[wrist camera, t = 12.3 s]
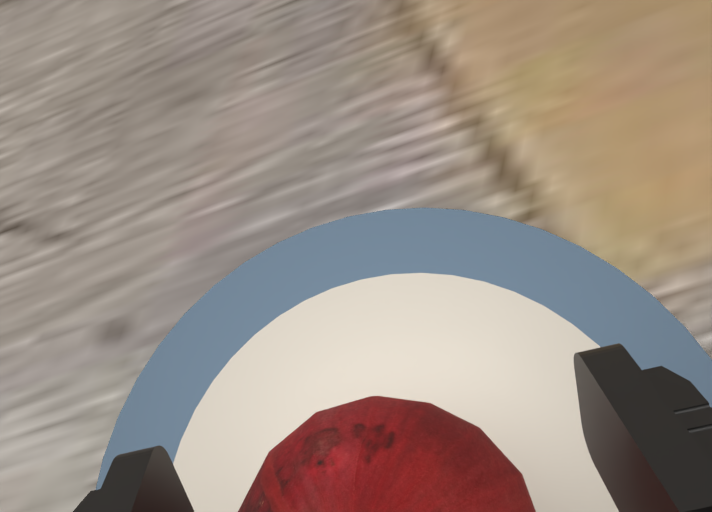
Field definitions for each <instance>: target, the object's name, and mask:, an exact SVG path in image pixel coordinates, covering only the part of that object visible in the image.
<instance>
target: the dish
mask: <svg viewBox="0 0 712 512" xmlns="http://www.w3.org/2000/svg"><path fill="white" fill-rule="evenodd" d="M618 343H620V344H621V345H623V346H624V347H625V349H626V350H627V351H628V353H629V354H630V355H631V357H632V358H633V359H634V360H635V362H636V363H637V364H638V366H639V367H640V368H641V370H644V369H649V368H653V367H658V366H663V367H665V368H667V369H669V370H671V371H672V372H674V373H676V374H678V375H680V376H682V377H683V378H685V379H687V380H689V381H691V383H692V384H693V385H694V386H695V387H696V388H697V390H698V391H699V392H700V393H701V394H702V395H703V397H704V398H705V399H706V400H707V401H708V402H709V405H710V407H712V360H711V358H710V357H709V356H708V355H707V353H706V352H705V351H704V350H703V348H702V347H701V346H700V345H699V344H698V342H697V341H696V340H695V339H694V337H693V336H692V335H691V334H690V333H689V331H688V330H687V329H686V328H685V327H684V326H683V325H682V324H681V323H680V322H679V321H678V320H677V319H676V318H675V317H674V316H673V315H672V314H671V313H670V312H669V311H668V310H667V309H666V308H665V307H664V306H663V305H662V304H661V303H660V302H659V301H658V300H657V299H656V298H655V297H653V296H652V295H651V294H650V293H649V292H647V291H646V290H645V289H643V288H642V287H641V286H639V285H638V284H637V283H636V282H634V281H633V280H632V279H630V278H629V277H628V276H626V275H625V274H624V273H622V272H621V271H620V270H619V269H617V268H616V267H614V266H612V265H611V264H609V263H607V262H606V261H604V260H602V259H601V258H599V257H597V256H595V255H594V254H592V253H590V252H589V251H587V250H585V249H584V248H582V247H580V246H578V245H576V244H574V243H571V242H569V241H567V240H565V239H562V238H560V237H558V236H556V235H553V234H551V233H549V232H547V231H544V230H542V229H539V228H536V227H533V226H529V225H526V224H523V223H520V222H516V221H513V220H510V219H507V218H503V217H499V216H493V215H488V214H482V213H477V212H471V211H466V210H454V209H437V208H411V209H394V210H383V211H377V212H372V213H366V214H361V215H355V216H350V217H346V218H343V219H339V220H336V221H333V222H329V223H326V224H323V225H320V226H316V227H313V228H311V229H308V230H306V231H304V232H301V233H299V234H297V235H295V236H292V237H290V238H288V239H286V240H283V241H281V242H279V243H277V244H275V245H273V246H272V247H270V248H268V249H267V250H265V251H263V252H261V253H260V254H258V255H256V256H255V257H253V258H251V259H250V260H248V261H246V262H245V263H243V264H242V265H241V266H239V267H238V268H237V269H235V270H234V271H233V272H231V273H230V274H229V275H227V276H226V277H225V278H223V279H222V280H221V281H220V282H218V283H217V284H216V285H214V286H213V287H212V288H211V289H210V290H209V291H208V292H207V293H206V294H205V295H204V296H203V297H202V298H201V299H200V300H199V301H197V302H196V303H195V304H194V305H193V306H192V307H191V308H190V309H189V310H188V311H187V312H186V313H185V314H184V315H183V317H182V318H181V319H180V320H179V321H178V323H177V324H176V325H175V326H174V327H173V329H172V330H171V331H170V332H169V334H168V335H167V336H166V337H165V338H164V340H163V341H162V342H161V343H160V345H159V346H158V348H157V349H156V351H155V352H154V354H153V355H152V357H151V358H150V360H149V361H148V363H147V365H146V366H145V368H144V369H143V371H142V372H141V374H140V375H139V377H138V378H137V380H136V382H135V384H134V386H133V388H132V390H131V392H130V394H129V396H128V398H127V400H126V402H125V404H124V406H123V408H122V410H121V412H120V414H119V416H118V419H117V422H116V424H115V427H114V430H113V433H112V435H111V438H110V441H109V444H108V446H107V449H106V452H105V455H104V457H103V461H102V465H101V470H100V474H99V478H98V482H97V486H96V490H98V489H101V487H102V484H103V482H104V480H105V477H106V475H107V473H108V470H109V468H110V466H111V463H112V461H113V459H114V458H115V457H116V456H117V455H119V454H123V453H128V452H132V451H137V450H141V449H146V448H150V447H155V446H162V447H164V448H165V450H166V451H167V452H168V454H169V456H170V459H171V461H172V463H173V465H174V467H175V470H176V472H177V474H178V476H179V478H180V481H181V483H182V485H183V487H184V489H185V492H186V494H187V496H188V498H189V501H190V503H191V505H192V507H193V510H194V512H238V510H239V509H240V507H241V505H242V503H243V501H244V499H245V497H246V495H247V493H248V491H249V489H250V487H251V485H252V483H253V481H254V480H255V478H256V476H257V474H258V472H259V470H260V468H261V466H262V464H263V462H264V460H265V458H266V456H267V454H268V452H269V451H270V450H272V449H273V448H274V447H275V446H276V445H278V444H279V443H280V442H281V441H282V440H284V439H285V438H286V437H287V436H288V435H289V434H291V433H292V432H293V431H294V430H295V429H297V428H298V427H299V426H300V425H301V424H303V423H304V422H305V421H306V420H307V419H309V418H310V417H311V416H312V415H313V414H315V413H316V412H318V411H322V410H325V409H329V408H332V407H335V406H339V405H342V404H346V403H349V402H353V401H356V400H359V399H363V398H366V397H370V396H384V397H391V398H398V399H406V400H413V401H420V402H428V403H431V404H433V405H435V406H437V407H439V408H441V409H443V410H445V411H447V412H449V413H451V414H453V415H456V416H458V417H460V418H462V419H464V420H466V421H468V422H470V423H472V424H474V425H476V426H478V427H480V428H481V430H482V431H483V432H484V433H485V434H486V435H487V436H488V437H489V438H490V439H491V440H492V442H493V443H494V444H495V445H496V446H497V447H498V448H499V449H500V450H501V451H502V452H503V454H504V455H505V456H506V457H507V458H508V459H509V460H510V461H511V462H512V463H513V464H514V466H515V467H516V468H517V469H518V470H519V471H520V472H521V473H522V475H523V478H524V480H525V483H526V486H527V489H528V491H529V494H530V497H531V500H532V502H533V505H534V508H535V511H536V512H619V511H618V509H617V507H616V505H615V503H614V501H613V499H612V497H611V495H610V493H609V492H608V490H607V488H606V486H605V484H604V482H603V480H602V478H601V476H600V475H599V473H598V471H597V469H596V467H595V465H594V463H593V461H592V459H591V456H590V454H589V451H588V448H587V445H586V441H585V438H584V434H583V429H582V423H581V416H580V408H579V400H578V393H577V385H576V377H575V370H574V354H575V353H578V352H582V351H586V350H591V349H595V348H600V347H604V346H609V345H613V344H618Z"/></svg>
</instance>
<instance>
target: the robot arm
mask: <svg viewBox="0 0 712 512" xmlns="http://www.w3.org/2000/svg"><path fill="white" fill-rule="evenodd" d="M574 370H575V377H576V385H577V393H578V400H579V408H580V416H581V423H582V429H583V434H584V438H585V441H586V445H587V448H588V451H589V454H590V456H591V459H592V461H593V463H594V465H595V467H596V469H597V471H598V473H599V475H600V476H601V478H602V480H603V482H604V484H605V486H606V488H607V490H608V492H609V493H610V495H611V497H612V499H613V501H614V503H615V505H616V507H617V509H618V511H619V512H712V407H710V405H709V402H708V401H707V400H706V399H705V398H704V397H703V395H702V394H701V393H700V392H699V391H698V390H697V388H696V387H695V386H694V385H693V384H692V383H691V381H689V380H687V379H685V378H683V377H682V376H680V375H678V374H676V373H674V372H672V371H671V370H669V369H667V368H665V367H663V366H658V367H653V368H649V369H644V370H641V368H640V367H639V366H638V364H637V363H636V362H635V360H634V359H633V358H632V357H631V355H630V354H629V353H628V351H627V350H626V349H625V347H624V346H623V345H621V344H620V343H618V344H613V345H609V346H604V347H600V348H595V349H591V350H586V351H582V352H578V353H575V354H574ZM73 512H194V510H193V507H192V505H191V503H190V501H189V498H188V496H187V494H186V492H185V489H184V487H183V485H182V483H181V481H180V478H179V476H178V474H177V472H176V470H175V467H174V465H173V463H172V461H171V459H170V456H169V454H168V452H167V451H166V450H165V448H164V447H162V446H155V447H150V448H146V449H141V450H137V451H132V452H128V453H123V454H119V455H117V456H116V457H115V458H114V459H113V461H112V463H111V466H110V468H109V470H108V473H107V475H106V477H105V480H104V482H103V484H102V487H101V489H98V490H94V491H90V493H89V494H88V495H87V496H86V497H85V498H84V499H83V501H82V502H81V503H80V504H79V505H78V506H77V508H76V509H75V510H74V511H73Z"/></svg>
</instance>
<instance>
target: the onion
mask: <svg viewBox="0 0 712 512" xmlns="http://www.w3.org/2000/svg"><path fill="white" fill-rule="evenodd" d="M238 512H536V511H535V508H534V505H533V502H532V500H531V497H530V494H529V491H528V489H527V486H526V483H525V480H524V478H523V475H522V473H521V472H520V471H519V470H518V469H517V468H516V467H515V466H514V464H513V463H512V462H511V461H510V460H509V459H508V458H507V457H506V456H505V455H504V454H503V452H502V451H501V450H500V449H499V448H498V447H497V446H496V445H495V444H494V443H493V442H492V440H491V439H490V438H489V437H488V436H487V435H486V434H485V433H484V432H483V431H482V430H481V428H480V427H478V426H476V425H474V424H472V423H470V422H468V421H466V420H464V419H462V418H460V417H458V416H456V415H453V414H451V413H449V412H447V411H445V410H443V409H441V408H439V407H437V406H435V405H433V404H431V403H428V402H420V401H413V400H406V399H398V398H391V397H384V396H370V397H366V398H363V399H359V400H356V401H353V402H349V403H346V404H342V405H339V406H335V407H332V408H329V409H325V410H322V411H318V412H316V413H315V414H313V415H312V416H311V417H310V418H309V419H307V420H306V421H305V422H304V423H303V424H301V425H300V426H299V427H298V428H297V429H295V430H294V431H293V432H292V433H291V434H289V435H288V436H287V437H286V438H285V439H284V440H282V441H281V442H280V443H279V444H278V445H276V446H275V447H274V448H273V449H272V450H270V451H269V452H268V454H267V456H266V458H265V460H264V462H263V464H262V466H261V468H260V470H259V472H258V474H257V476H256V478H255V480H254V481H253V483H252V485H251V487H250V489H249V491H248V493H247V495H246V497H245V499H244V501H243V503H242V505H241V507H240V509H239V510H238Z"/></svg>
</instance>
